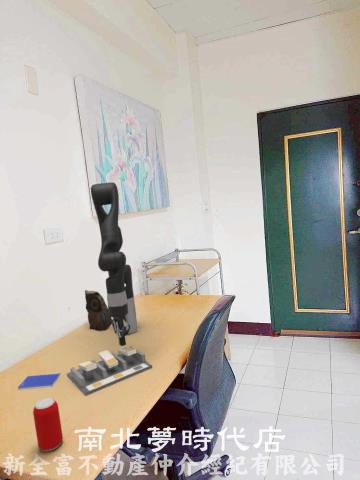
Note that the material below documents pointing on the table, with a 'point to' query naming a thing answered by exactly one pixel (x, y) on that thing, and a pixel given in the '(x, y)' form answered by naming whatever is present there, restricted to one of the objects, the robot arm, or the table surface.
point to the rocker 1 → (87, 366)
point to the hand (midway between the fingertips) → (122, 345)
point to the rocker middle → (108, 359)
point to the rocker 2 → (127, 351)
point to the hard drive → (39, 381)
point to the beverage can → (47, 424)
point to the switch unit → (109, 372)
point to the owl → (97, 311)
